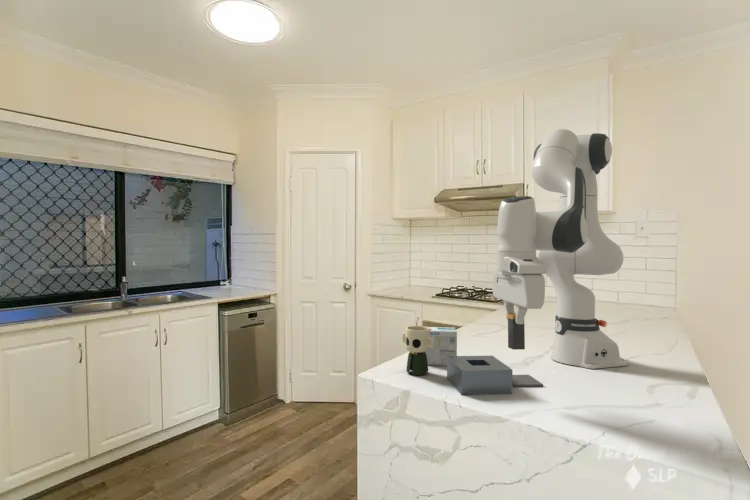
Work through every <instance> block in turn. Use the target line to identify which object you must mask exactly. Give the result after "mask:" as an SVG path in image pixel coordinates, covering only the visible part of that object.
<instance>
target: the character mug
mask: <svg viewBox="0 0 750 500" xmlns="http://www.w3.org/2000/svg"><path fill="white" fill-rule="evenodd" d="M429 327H430V326H425V325H409V326H406V327H405V331H402V335H401V341H402V343H404V346H405V349H406V350H407V351H408V352H409V353H408V355H407V356H408V357H407V361H406V373H408V374H410V373H411V372H412V375H424V374H425V373H428V372H429V365H428V363H427V355H426V353H425V352H426V351H429V349H430V348H434V338H433V337H431V336H430V328H429ZM430 340H431V345H430Z"/></svg>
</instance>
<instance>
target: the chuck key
mask: <svg viewBox="0 0 750 500" xmlns="http://www.w3.org/2000/svg"><path fill="white" fill-rule="evenodd" d="M514 316H516V314H508V319H507V344H508V345H507V347H508V348H509V349H511V350H525V347H526V345H525V343H526V342H525V341H526V340H525V339H526V338H525V337H526V336H525V333H526V332H525V323H524V324H517V323H515V322H514Z"/></svg>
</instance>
